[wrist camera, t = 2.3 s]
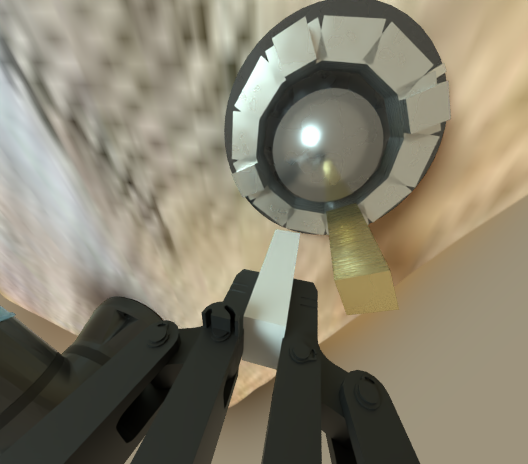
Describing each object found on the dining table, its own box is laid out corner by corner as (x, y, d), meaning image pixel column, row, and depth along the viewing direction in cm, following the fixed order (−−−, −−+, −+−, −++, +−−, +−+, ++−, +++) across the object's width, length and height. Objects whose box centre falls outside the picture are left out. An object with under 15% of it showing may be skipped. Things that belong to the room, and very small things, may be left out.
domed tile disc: (278, 235, 23) (250, 326, 13) (216, 96, 18) (91, 69, 8) (428, 194, 18) (572, 289, 8) (403, -18, 13) (728, -521, 3)
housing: (271, 242, 26) (259, 279, 20) (199, 87, 20) (149, 73, 14) (443, 196, 20) (498, 230, 14) (420, -59, 13) (507, -206, 7)
